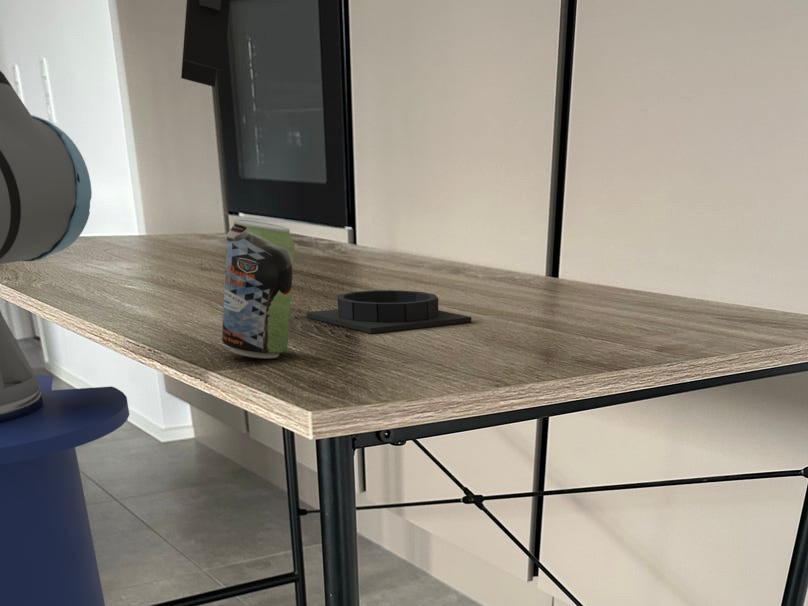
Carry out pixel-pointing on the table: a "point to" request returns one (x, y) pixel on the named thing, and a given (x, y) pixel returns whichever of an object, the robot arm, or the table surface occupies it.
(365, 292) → the holder pad
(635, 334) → the table surface
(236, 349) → the beverage can
